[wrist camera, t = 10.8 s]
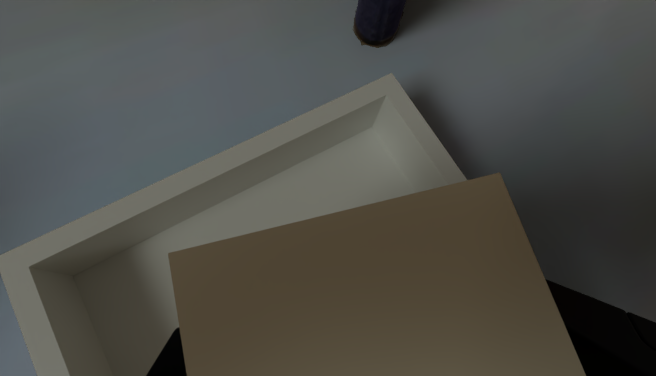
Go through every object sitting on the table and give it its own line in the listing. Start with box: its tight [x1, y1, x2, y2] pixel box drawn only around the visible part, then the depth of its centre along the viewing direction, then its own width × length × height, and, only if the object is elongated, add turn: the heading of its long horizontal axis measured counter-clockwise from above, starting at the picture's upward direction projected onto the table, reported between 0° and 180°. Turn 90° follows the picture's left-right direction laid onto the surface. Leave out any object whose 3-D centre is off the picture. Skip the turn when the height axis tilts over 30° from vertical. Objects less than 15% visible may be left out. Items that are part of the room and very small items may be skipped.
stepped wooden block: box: [168, 173, 586, 376], centre depth 10 cm, size 6×6×12 cm
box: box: [0, 73, 467, 376], centre depth 15 cm, size 16×16×4 cm
